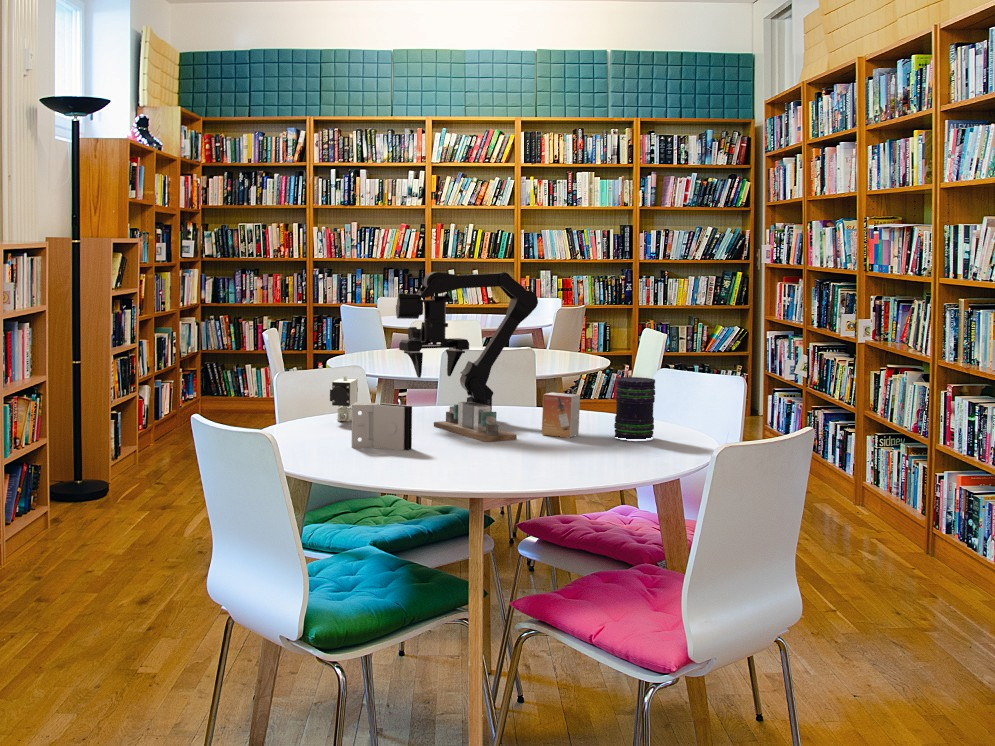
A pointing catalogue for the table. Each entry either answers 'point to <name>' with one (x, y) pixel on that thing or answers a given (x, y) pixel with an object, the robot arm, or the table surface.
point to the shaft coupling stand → (487, 435)
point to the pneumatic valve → (344, 397)
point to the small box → (560, 414)
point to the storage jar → (634, 407)
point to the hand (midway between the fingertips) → (434, 376)
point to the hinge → (382, 426)
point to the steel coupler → (471, 415)
